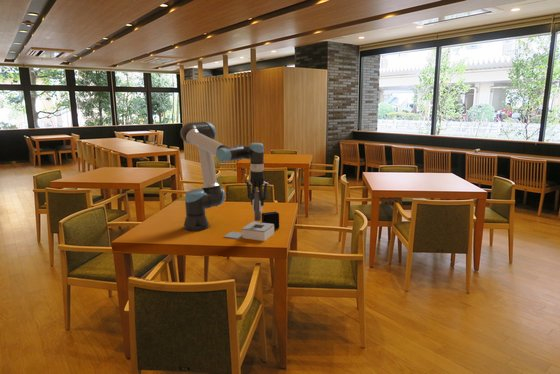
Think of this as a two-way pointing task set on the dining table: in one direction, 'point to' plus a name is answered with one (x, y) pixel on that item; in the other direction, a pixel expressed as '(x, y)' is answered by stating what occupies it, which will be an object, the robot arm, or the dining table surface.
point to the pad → (233, 235)
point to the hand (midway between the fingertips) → (257, 210)
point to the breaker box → (258, 231)
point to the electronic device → (271, 218)
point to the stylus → (257, 206)
